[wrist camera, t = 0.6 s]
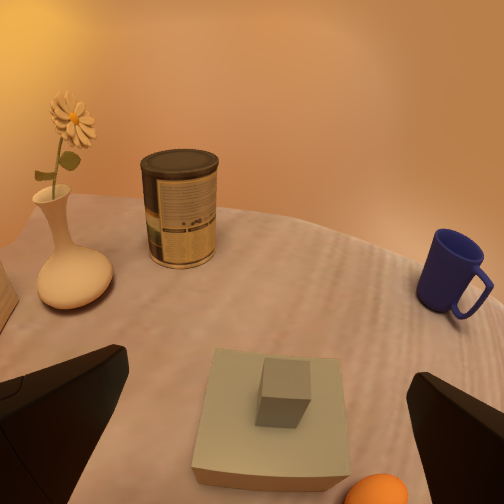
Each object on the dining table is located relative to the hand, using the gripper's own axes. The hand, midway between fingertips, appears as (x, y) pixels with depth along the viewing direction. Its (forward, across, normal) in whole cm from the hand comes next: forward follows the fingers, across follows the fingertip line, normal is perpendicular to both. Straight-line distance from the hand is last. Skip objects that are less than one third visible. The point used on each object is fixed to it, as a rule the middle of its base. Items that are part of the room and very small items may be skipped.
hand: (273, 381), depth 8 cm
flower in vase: (+26, +25, +10) cm, 37 cm away
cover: (+11, -1, +15) cm, 19 cm away
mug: (+29, -26, +9) cm, 40 cm away
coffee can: (+36, +13, +6) cm, 39 cm away
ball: (+4, -10, +15) cm, 19 cm away
